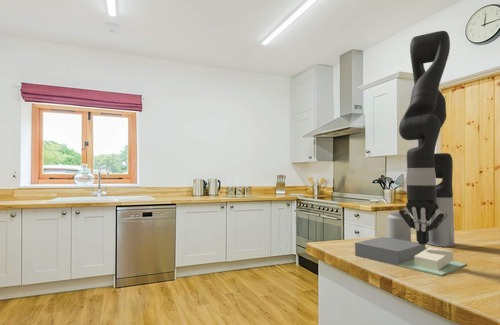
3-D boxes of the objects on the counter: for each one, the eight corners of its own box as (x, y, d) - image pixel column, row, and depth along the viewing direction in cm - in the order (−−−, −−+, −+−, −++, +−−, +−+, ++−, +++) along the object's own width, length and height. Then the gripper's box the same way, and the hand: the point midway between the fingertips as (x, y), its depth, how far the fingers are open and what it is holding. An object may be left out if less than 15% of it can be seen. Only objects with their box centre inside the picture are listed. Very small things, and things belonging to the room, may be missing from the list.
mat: (425, 256, 95) (425, 255, 95) (466, 264, 86) (466, 263, 86) (398, 265, 86) (398, 264, 86) (441, 276, 77) (441, 274, 77)
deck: (383, 248, 106) (382, 236, 107) (425, 256, 95) (425, 243, 95) (355, 255, 97) (354, 242, 97) (398, 265, 86) (398, 251, 86)
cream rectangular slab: (452, 251, 85) (453, 263, 85) (430, 246, 90) (431, 258, 90) (436, 261, 80) (438, 274, 80) (413, 256, 85) (415, 268, 85)
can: (414, 249, 105) (413, 214, 105) (390, 248, 106) (389, 213, 107) (407, 244, 112) (406, 211, 112) (385, 243, 113) (384, 211, 114)
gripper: (452, 184, 86) (454, 246, 85) (404, 183, 97) (406, 238, 96) (440, 184, 81) (442, 250, 81) (392, 183, 92) (393, 241, 91)
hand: (422, 244), depth 88 cm, fingers closed
